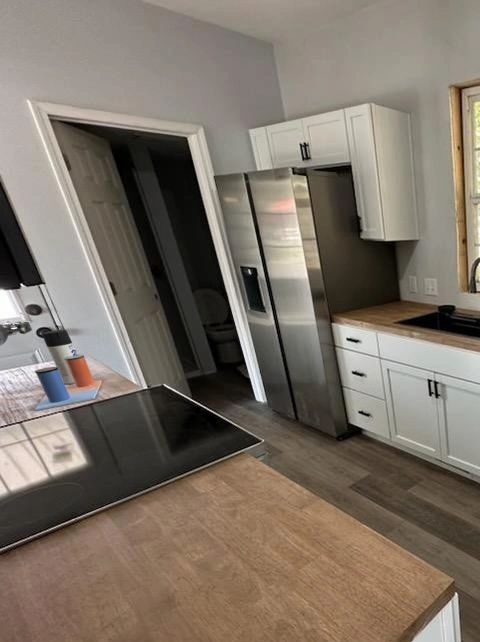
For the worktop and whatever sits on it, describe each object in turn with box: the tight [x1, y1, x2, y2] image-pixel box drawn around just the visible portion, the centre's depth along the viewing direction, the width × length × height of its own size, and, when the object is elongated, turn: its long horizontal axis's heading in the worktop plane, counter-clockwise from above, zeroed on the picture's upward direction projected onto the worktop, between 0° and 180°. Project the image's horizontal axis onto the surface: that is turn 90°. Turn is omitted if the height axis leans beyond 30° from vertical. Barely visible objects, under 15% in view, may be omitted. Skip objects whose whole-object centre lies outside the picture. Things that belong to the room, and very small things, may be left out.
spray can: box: [41, 329, 78, 385], centre depth 156 cm, size 7×7×20 cm
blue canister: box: [34, 366, 70, 403], centre depth 138 cm, size 5×5×11 cm
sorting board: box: [34, 380, 103, 412], centre depth 146 cm, size 14×24×1 cm, turn 39°
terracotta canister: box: [64, 354, 95, 387], centre depth 152 cm, size 5×5×11 cm
